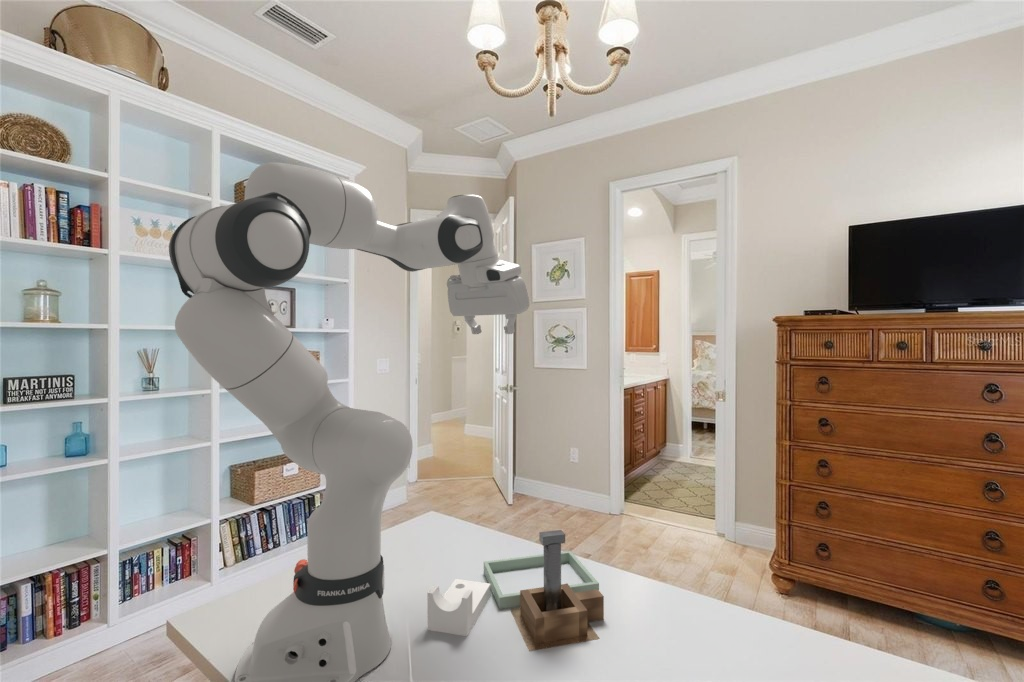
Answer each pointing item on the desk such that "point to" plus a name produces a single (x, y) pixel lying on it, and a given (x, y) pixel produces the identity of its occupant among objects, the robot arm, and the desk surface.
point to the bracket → (457, 606)
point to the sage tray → (533, 562)
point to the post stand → (551, 593)
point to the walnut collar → (560, 613)
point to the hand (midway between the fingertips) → (493, 333)
